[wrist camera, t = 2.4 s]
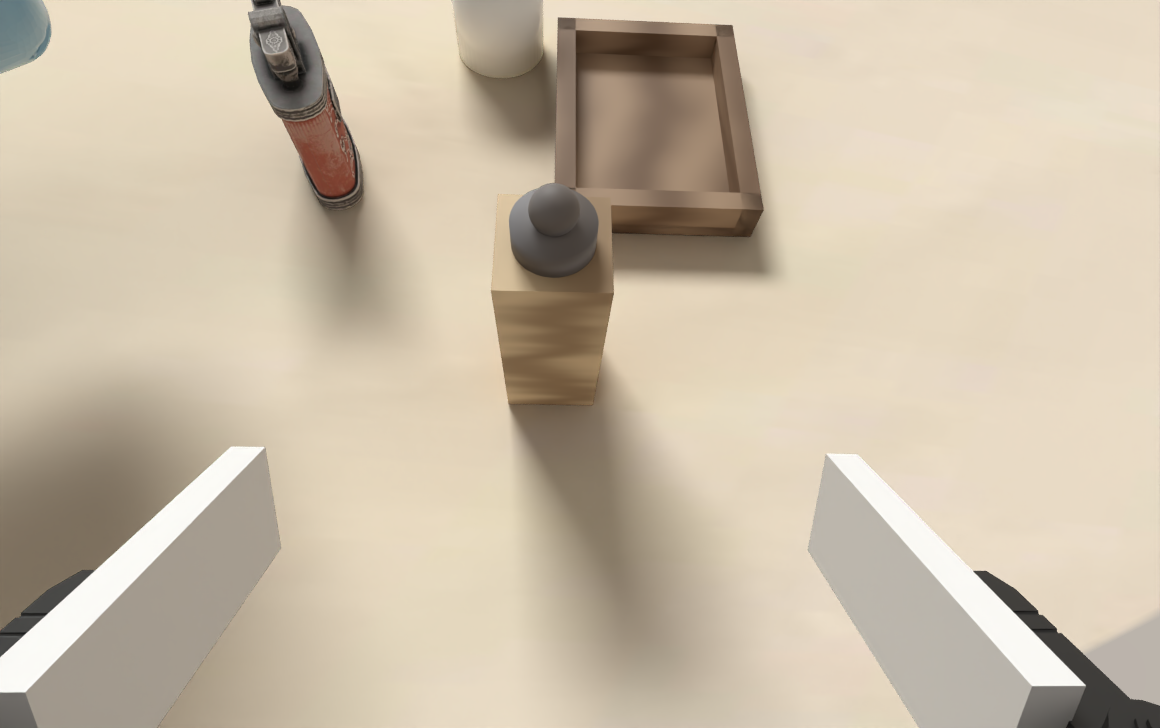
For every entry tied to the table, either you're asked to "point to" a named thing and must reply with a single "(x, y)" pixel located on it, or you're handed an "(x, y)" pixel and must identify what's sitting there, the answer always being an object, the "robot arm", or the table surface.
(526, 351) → the pepper mill
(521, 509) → the table surface
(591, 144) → the tray
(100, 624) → the robot arm
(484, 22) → the white pillar candle
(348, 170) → the lighter
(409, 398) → the table surface
